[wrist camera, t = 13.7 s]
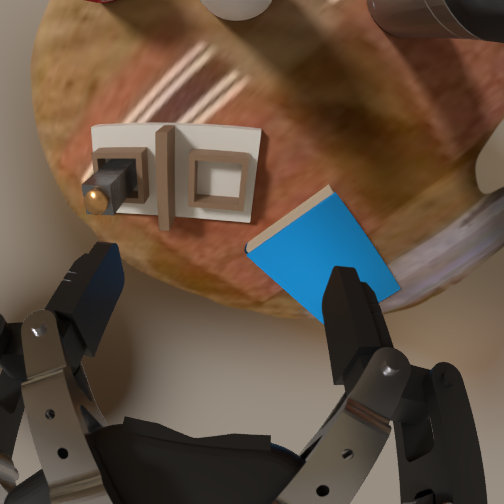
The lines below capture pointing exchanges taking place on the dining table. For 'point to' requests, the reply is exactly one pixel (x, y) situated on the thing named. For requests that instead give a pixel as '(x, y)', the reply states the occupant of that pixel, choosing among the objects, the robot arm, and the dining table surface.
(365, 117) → the dining table surface
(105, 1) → the soda can
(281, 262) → the book
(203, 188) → the plate
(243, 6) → the alcohol
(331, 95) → the dining table surface
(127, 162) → the peg
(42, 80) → the dining table surface
